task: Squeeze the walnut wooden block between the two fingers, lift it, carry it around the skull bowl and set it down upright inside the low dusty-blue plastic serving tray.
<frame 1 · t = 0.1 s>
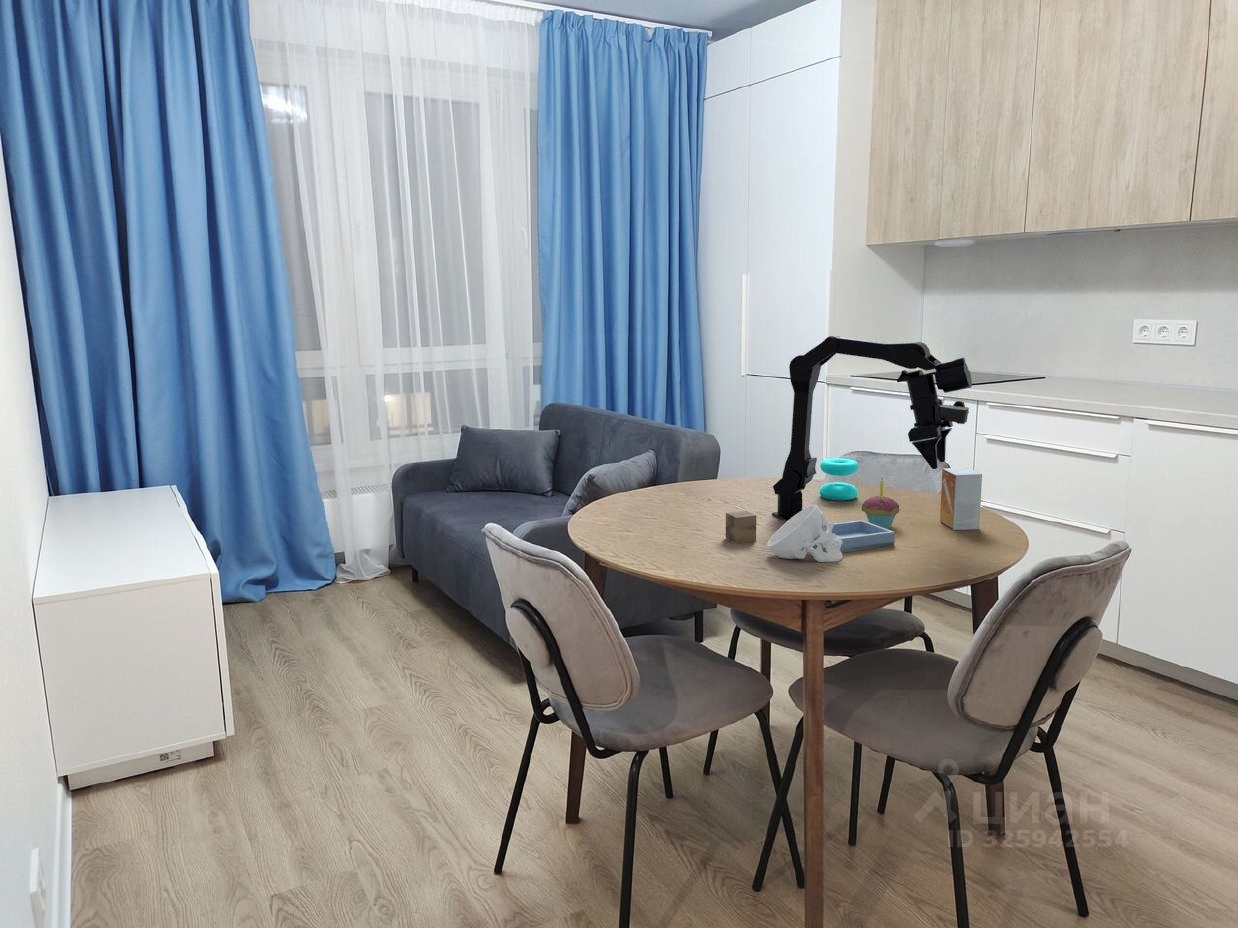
hand: (938, 465, 204), 15 cm above the table, tool pointing down, fingers open, 9 cm apart
block: (740, 540, 203), on the table
cupcake: (879, 527, 212), on the table
donuts: (838, 498, 243), on the table
tray: (851, 542, 199), on the table
small box: (959, 526, 212), on the table
skull bowl: (804, 558, 189), on the table
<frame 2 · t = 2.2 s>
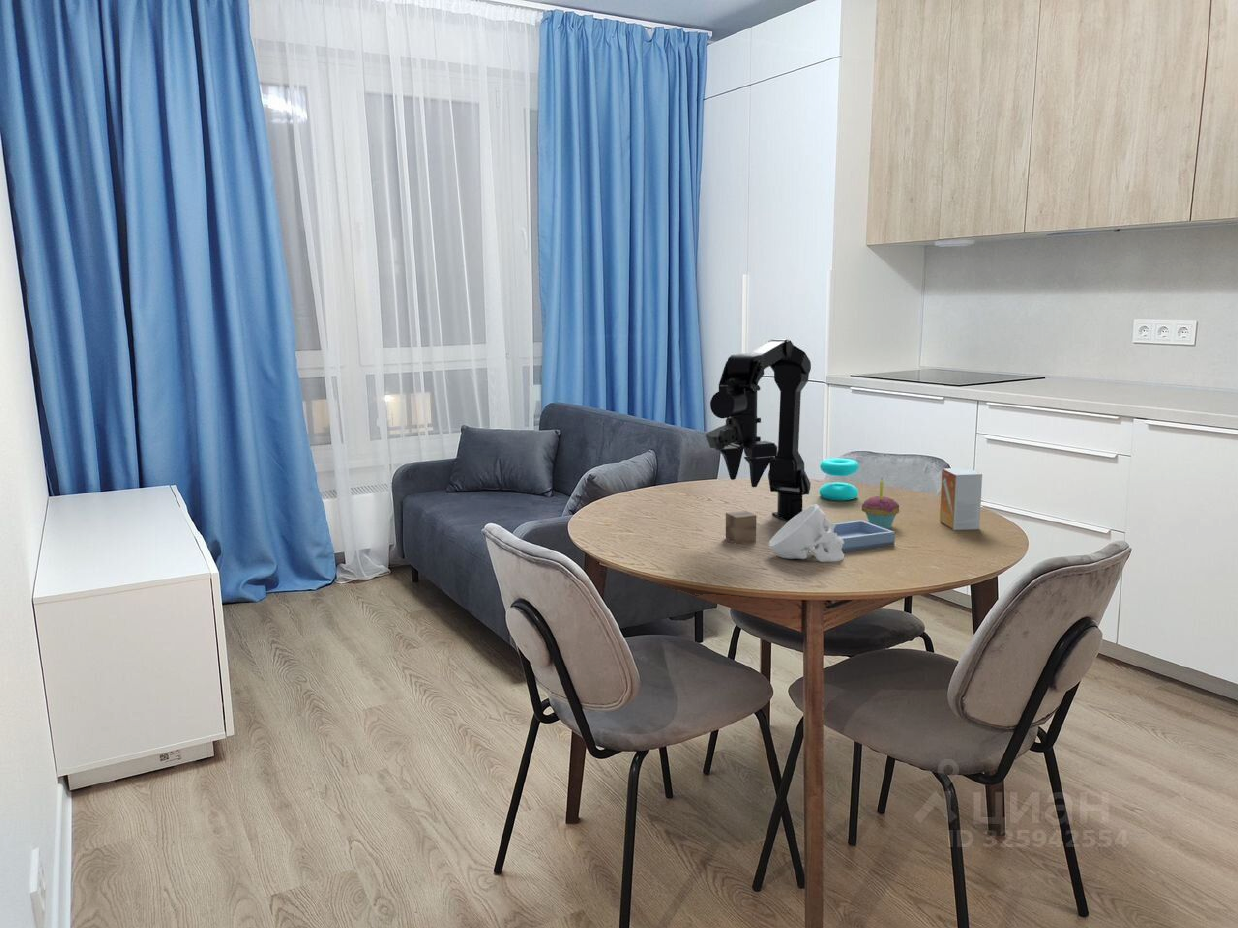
hand: (743, 483, 200), 13 cm above the table, tool pointing down, fingers open, 9 cm apart
nothing on the table moved.
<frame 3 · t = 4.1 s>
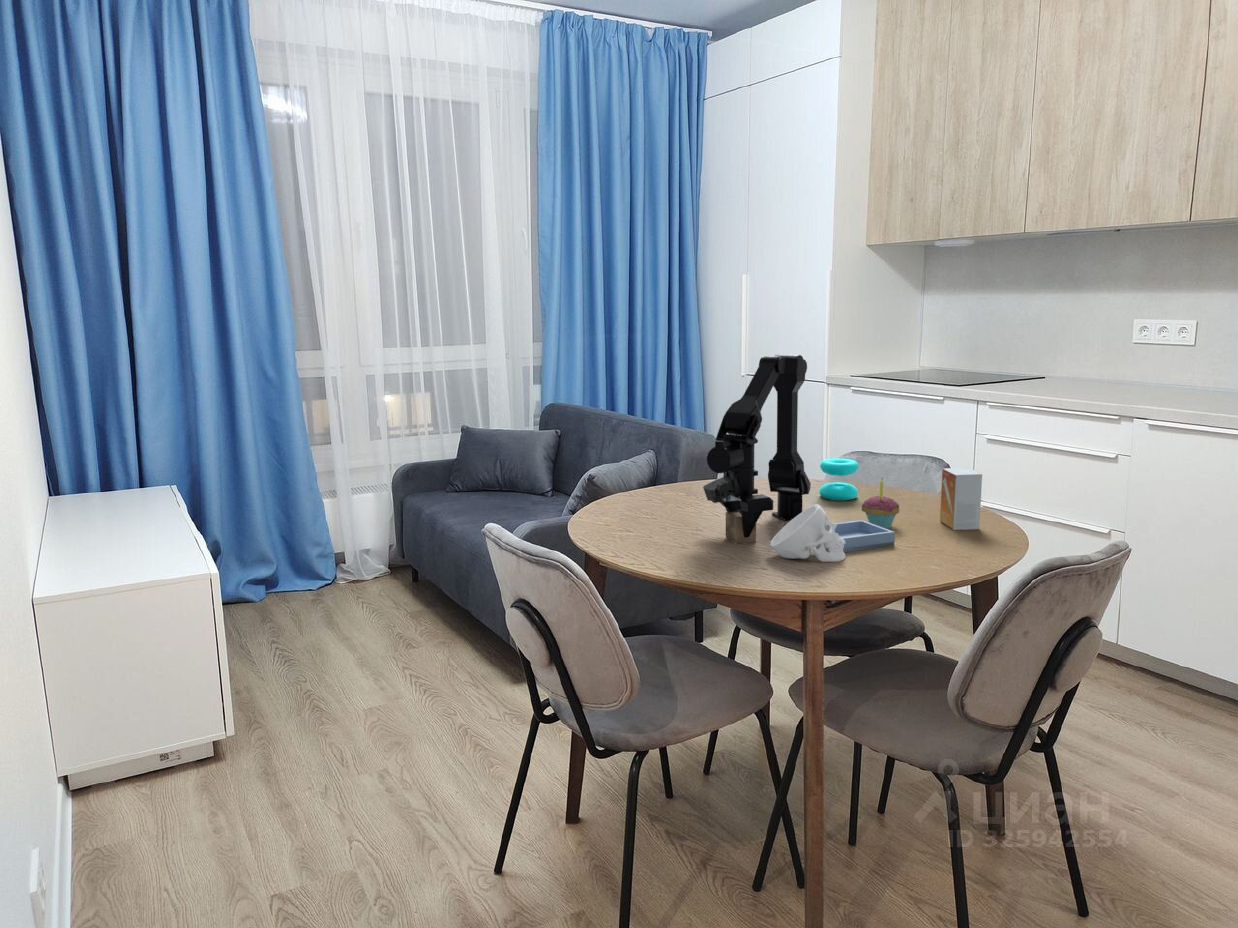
hand: (740, 534, 203), 1 cm above the table, tool pointing down, fingers closed on block, 5 cm apart
block: (740, 539, 203), on the table, touching gripper
everything else where it was.
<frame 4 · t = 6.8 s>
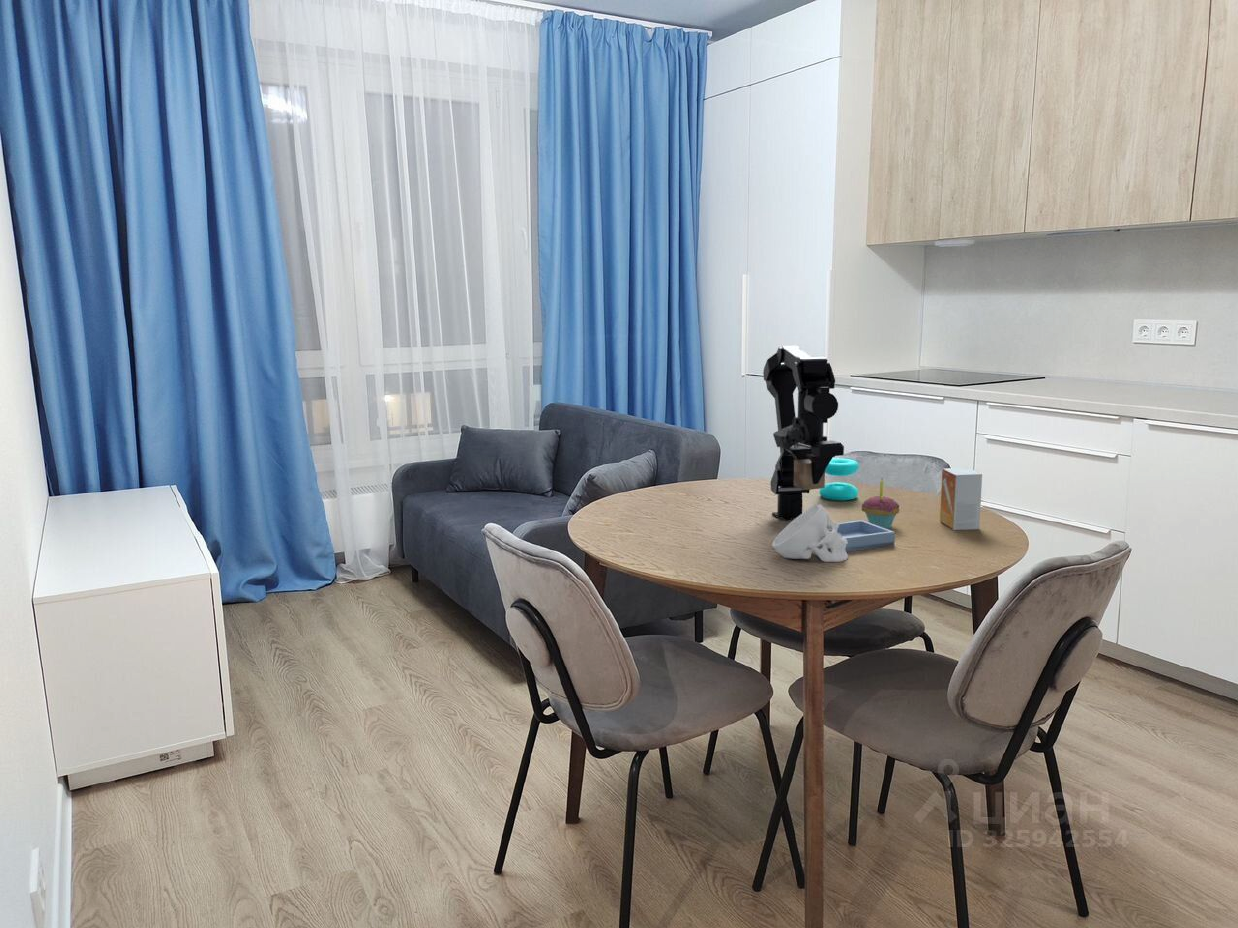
hand: (809, 481, 206), 12 cm above the table, tool pointing down, fingers closed on block, 5 cm apart
block: (809, 486, 206), point 11 cm above the table, touching gripper
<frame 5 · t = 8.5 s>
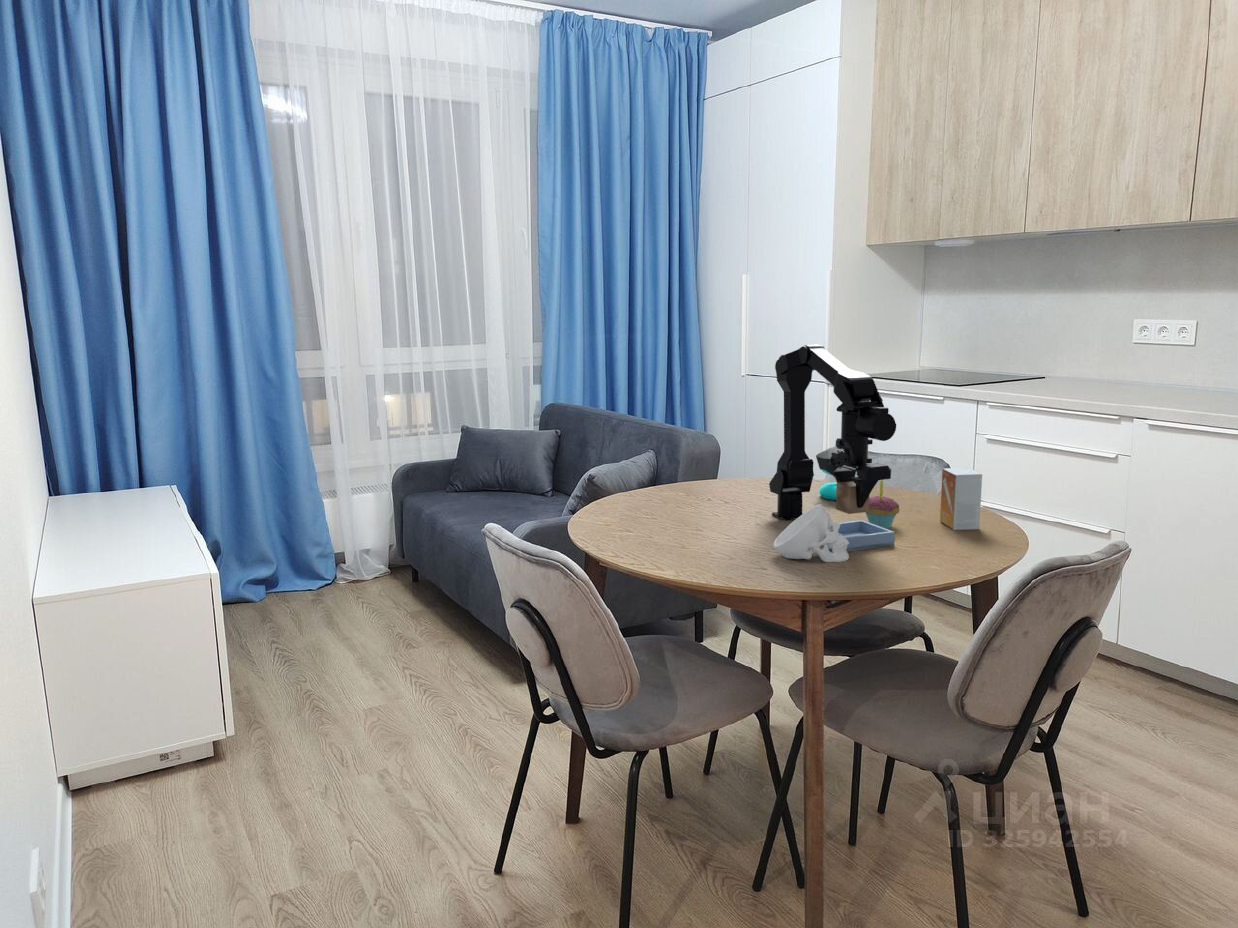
hand: (852, 505, 198), 8 cm above the table, tool pointing down, fingers closed on block, 5 cm apart
block: (852, 510, 198), point 7 cm above the table, touching gripper
when the fingers open (3 cm above the table, at t = 9.7 s): block drops 1 cm, resting on tray.
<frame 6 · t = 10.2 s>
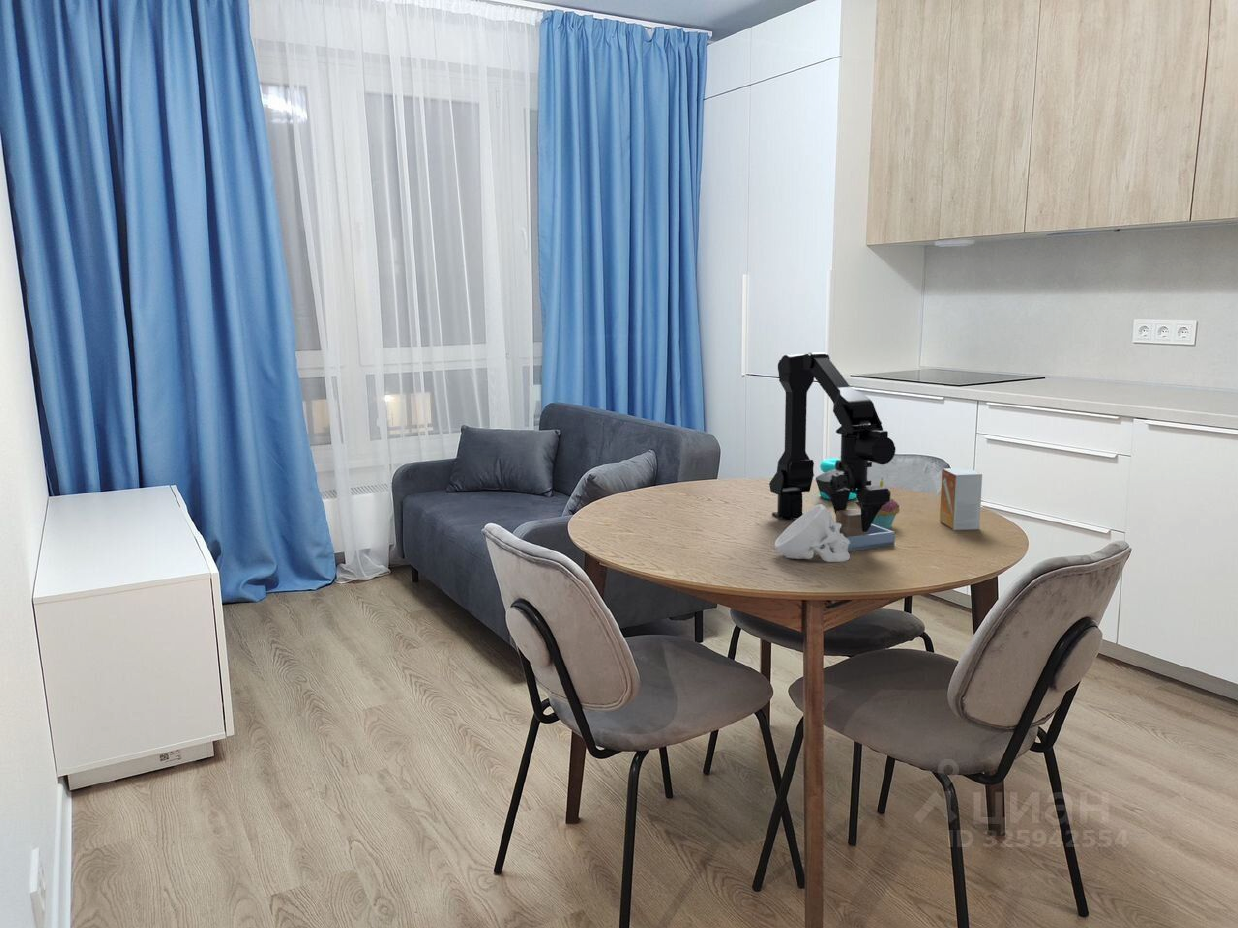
hand: (852, 526, 199), 3 cm above the table, tool pointing down, fingers open, 9 cm apart
block: (851, 538, 199), point 1 cm above the table, touching tray
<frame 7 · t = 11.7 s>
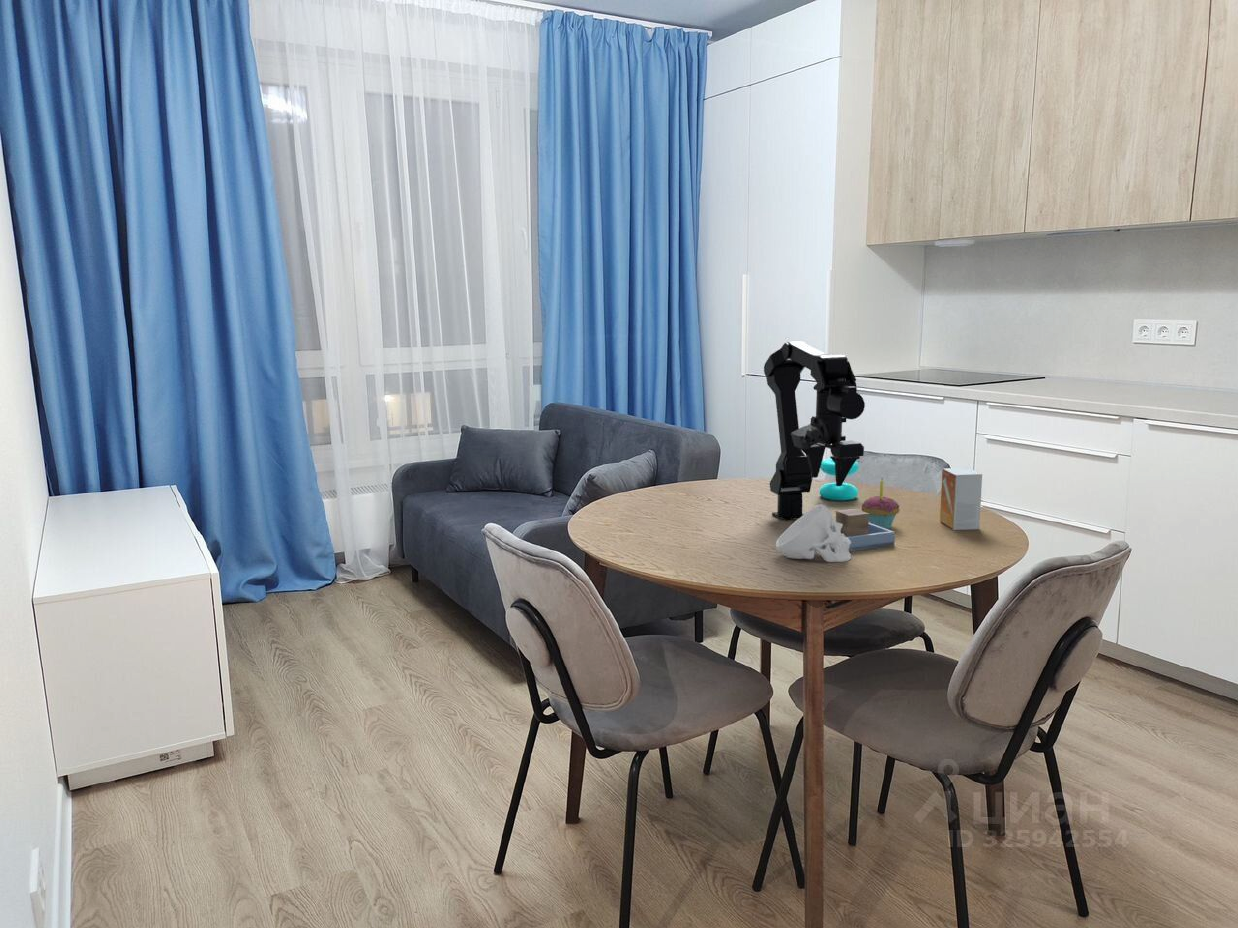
hand: (826, 481, 203), 13 cm above the table, tool pointing down, fingers open, 9 cm apart
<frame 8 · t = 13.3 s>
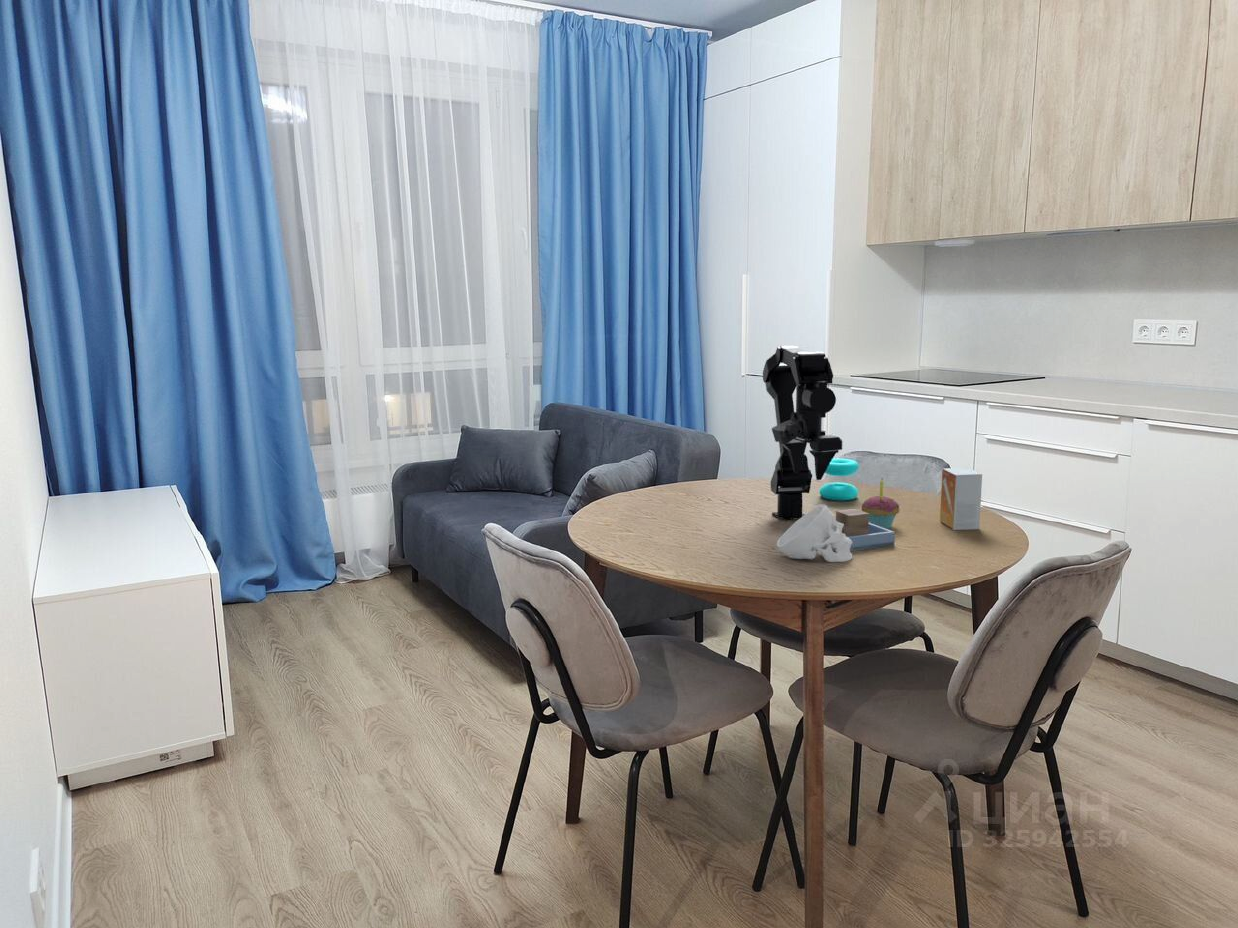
hand: (807, 476, 207), 13 cm above the table, tool pointing down, fingers open, 9 cm apart
at the end: block inside the target area on the tray (0.1 cm from its centre), point 0.8 cm above the tray's base; block tilted 0°; the gripper is holding nothing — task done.
